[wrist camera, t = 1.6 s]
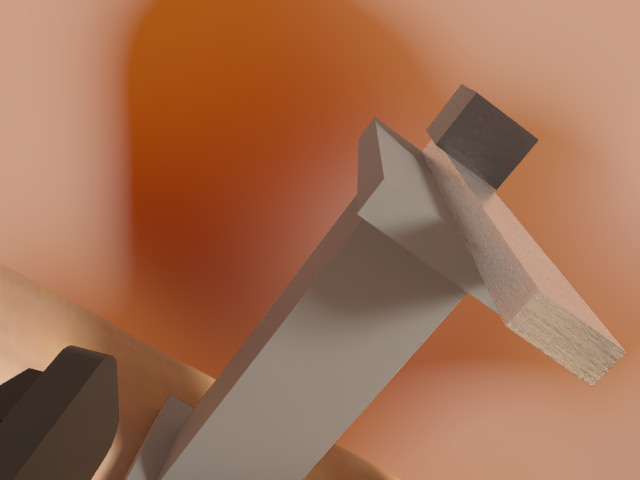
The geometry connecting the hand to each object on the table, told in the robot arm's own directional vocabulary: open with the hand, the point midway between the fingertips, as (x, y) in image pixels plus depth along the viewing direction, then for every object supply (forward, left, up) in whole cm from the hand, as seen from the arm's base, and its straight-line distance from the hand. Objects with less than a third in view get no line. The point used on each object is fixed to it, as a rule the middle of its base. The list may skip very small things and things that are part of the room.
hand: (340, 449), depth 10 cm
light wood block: (-22, -9, +1) cm, 24 cm away
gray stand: (-26, -13, -31) cm, 42 cm away
